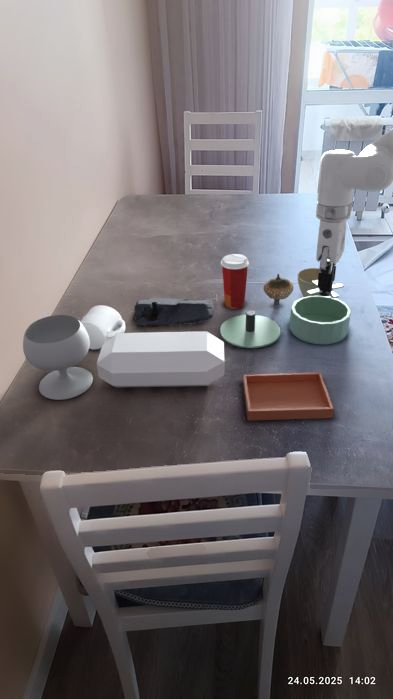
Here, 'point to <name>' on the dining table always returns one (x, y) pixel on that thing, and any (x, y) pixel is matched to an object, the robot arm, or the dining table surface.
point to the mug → (102, 325)
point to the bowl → (320, 319)
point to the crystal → (161, 359)
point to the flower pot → (308, 280)
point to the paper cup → (234, 279)
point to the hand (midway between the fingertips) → (326, 283)
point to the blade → (326, 290)
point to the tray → (286, 396)
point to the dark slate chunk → (172, 311)
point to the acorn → (278, 289)
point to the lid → (250, 331)
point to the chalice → (58, 355)
